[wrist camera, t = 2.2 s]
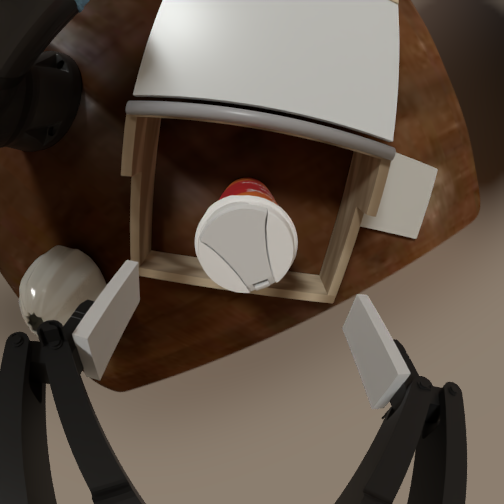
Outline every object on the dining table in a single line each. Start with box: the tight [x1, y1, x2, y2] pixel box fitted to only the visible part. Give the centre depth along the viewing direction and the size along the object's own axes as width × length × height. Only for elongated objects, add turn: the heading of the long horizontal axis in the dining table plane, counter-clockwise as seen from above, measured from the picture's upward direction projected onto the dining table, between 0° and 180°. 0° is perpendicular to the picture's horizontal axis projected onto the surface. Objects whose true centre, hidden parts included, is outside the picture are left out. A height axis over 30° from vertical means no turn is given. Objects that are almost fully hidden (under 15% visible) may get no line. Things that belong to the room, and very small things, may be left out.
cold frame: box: [121, 114, 391, 303], centre depth 31 cm, size 26×20×8 cm
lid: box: [126, 0, 399, 161], centre depth 20 cm, size 26×22×5 cm
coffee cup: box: [195, 178, 298, 293], centre depth 28 cm, size 8×8×15 cm
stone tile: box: [360, 153, 438, 239], centre depth 34 cm, size 11×11×1 cm
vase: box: [19, 245, 107, 337], centre depth 33 cm, size 14×14×13 cm
